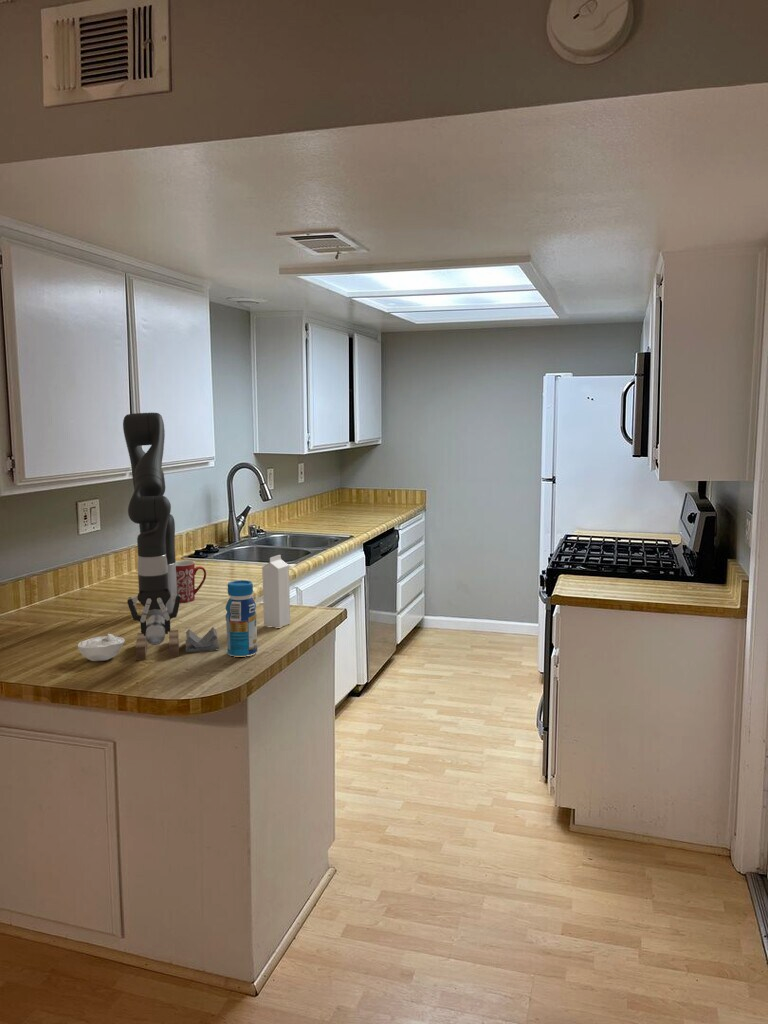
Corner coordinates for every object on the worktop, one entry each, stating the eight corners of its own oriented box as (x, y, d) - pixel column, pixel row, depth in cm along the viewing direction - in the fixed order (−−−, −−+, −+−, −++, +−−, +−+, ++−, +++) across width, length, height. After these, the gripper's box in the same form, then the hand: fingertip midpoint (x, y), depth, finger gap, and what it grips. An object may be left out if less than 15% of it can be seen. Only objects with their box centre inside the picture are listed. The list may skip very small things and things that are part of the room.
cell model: (77, 656, 209) (76, 632, 208) (123, 651, 213) (122, 627, 212) (79, 668, 199) (77, 643, 198) (127, 661, 204) (125, 637, 203)
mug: (169, 604, 265) (167, 566, 263) (171, 598, 273) (170, 561, 272) (206, 602, 267) (205, 564, 265) (207, 596, 276) (206, 559, 274)
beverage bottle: (221, 653, 211) (219, 582, 208) (249, 647, 216) (246, 577, 213) (235, 660, 204) (232, 587, 201) (263, 654, 209) (261, 583, 206)
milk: (263, 626, 236) (261, 557, 233) (274, 621, 241) (272, 553, 238) (280, 629, 233) (277, 558, 230) (291, 624, 239) (288, 554, 236)
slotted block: (138, 645, 219) (137, 633, 218) (178, 641, 221) (178, 629, 221) (136, 660, 205) (135, 647, 205) (179, 656, 208) (178, 644, 208)
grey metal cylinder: (148, 632, 208) (145, 616, 207) (166, 629, 209) (164, 613, 208) (146, 646, 196) (144, 628, 195) (166, 643, 197) (163, 625, 197)
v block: (185, 643, 220) (184, 628, 219) (217, 640, 222) (216, 626, 221) (186, 652, 211) (185, 637, 210) (219, 650, 213) (218, 634, 213)
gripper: (123, 576, 195) (127, 640, 197) (181, 572, 198) (184, 636, 201) (125, 570, 202) (128, 632, 204) (180, 566, 205) (183, 627, 208)
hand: (156, 633), depth 203 cm, fingers closed on grey metal cylinder, 4 cm apart
